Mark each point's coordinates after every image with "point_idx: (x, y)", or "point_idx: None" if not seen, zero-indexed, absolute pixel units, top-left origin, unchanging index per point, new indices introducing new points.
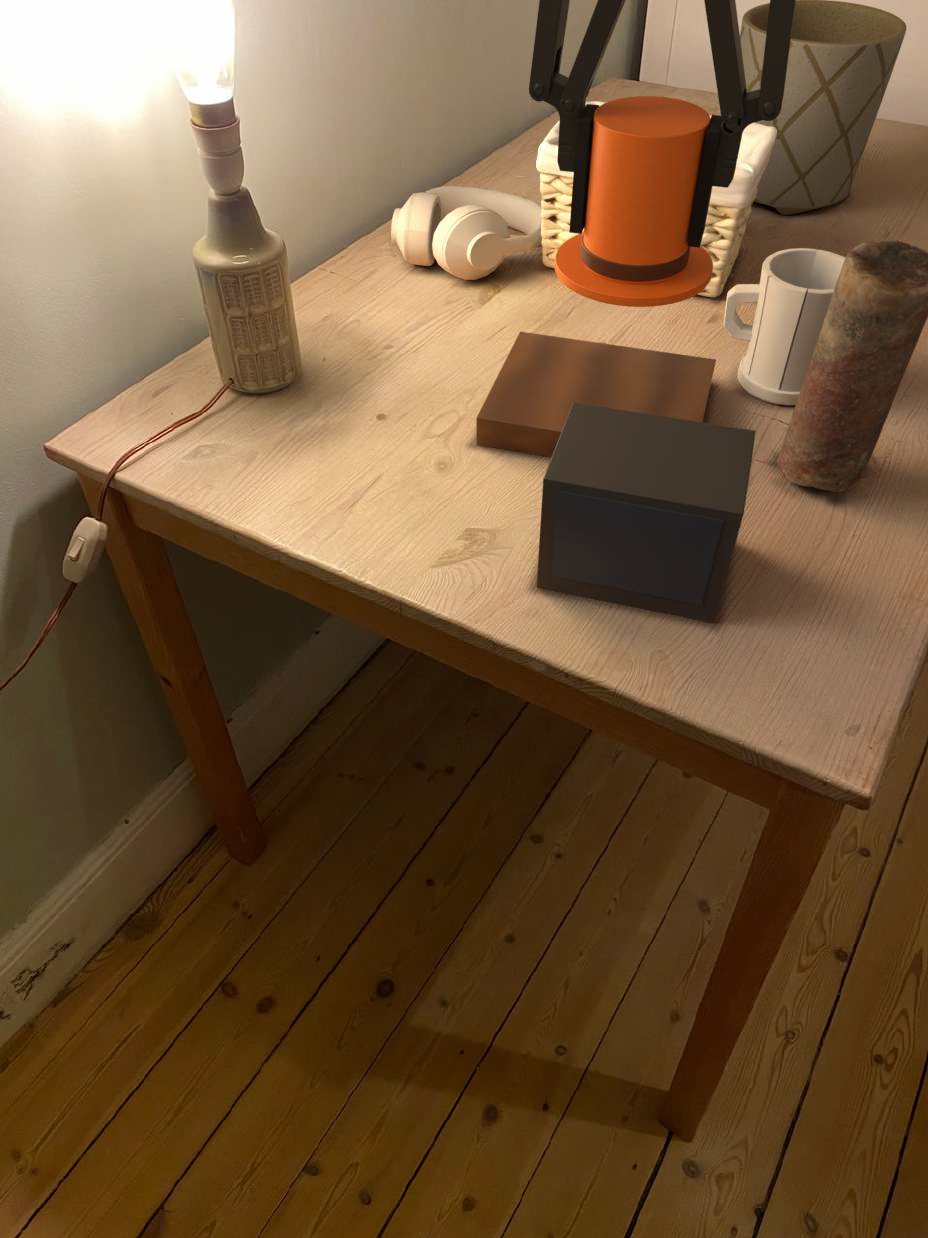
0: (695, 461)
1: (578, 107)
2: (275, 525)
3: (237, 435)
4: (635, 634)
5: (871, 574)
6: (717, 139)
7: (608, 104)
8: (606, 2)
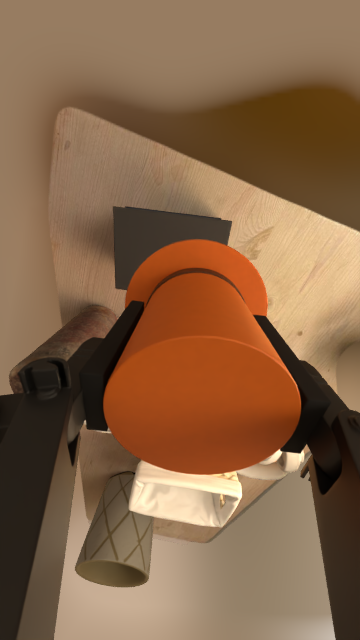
0: (144, 254)
1: (342, 420)
2: (357, 245)
3: None
4: (170, 194)
5: (72, 257)
6: (86, 365)
7: (268, 449)
8: None
